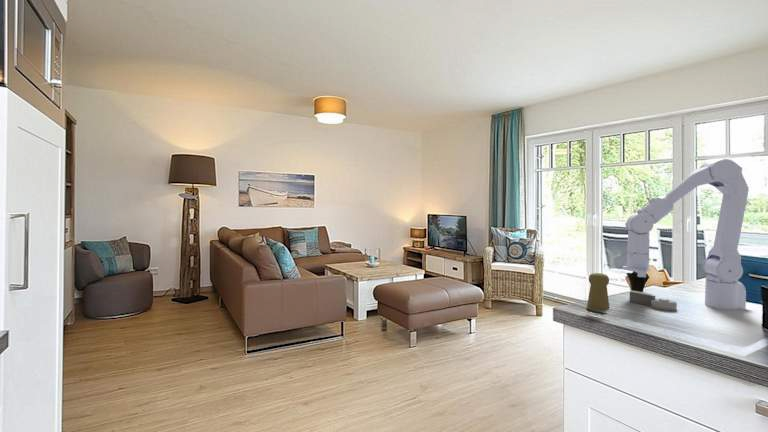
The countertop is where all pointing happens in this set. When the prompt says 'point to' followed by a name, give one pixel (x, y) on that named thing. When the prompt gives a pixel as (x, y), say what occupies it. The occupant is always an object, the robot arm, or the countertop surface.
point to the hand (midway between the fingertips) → (636, 296)
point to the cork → (598, 292)
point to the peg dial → (652, 301)
